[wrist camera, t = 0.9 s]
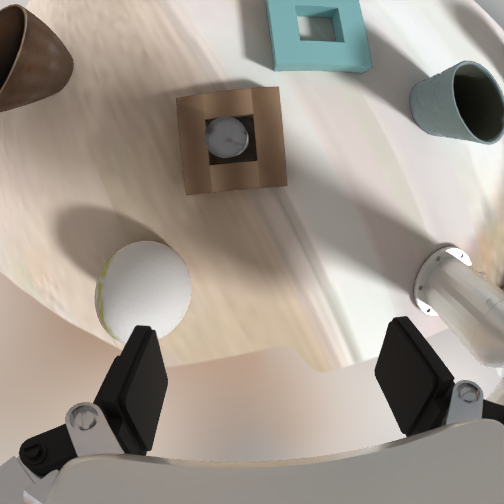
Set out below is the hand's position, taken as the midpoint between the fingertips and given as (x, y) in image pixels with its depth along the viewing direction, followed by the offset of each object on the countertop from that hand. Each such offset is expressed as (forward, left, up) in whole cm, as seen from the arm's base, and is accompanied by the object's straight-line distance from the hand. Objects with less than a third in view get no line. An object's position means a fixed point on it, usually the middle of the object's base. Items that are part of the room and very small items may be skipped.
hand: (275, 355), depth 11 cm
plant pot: (+30, -26, -29) cm, 49 cm away
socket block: (-9, -24, -29) cm, 39 cm away
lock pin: (+3, -9, -29) cm, 30 cm away
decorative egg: (+16, +8, -29) cm, 34 cm away
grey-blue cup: (-26, -14, -29) cm, 41 cm away
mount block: (+3, -9, -29) cm, 30 cm away
